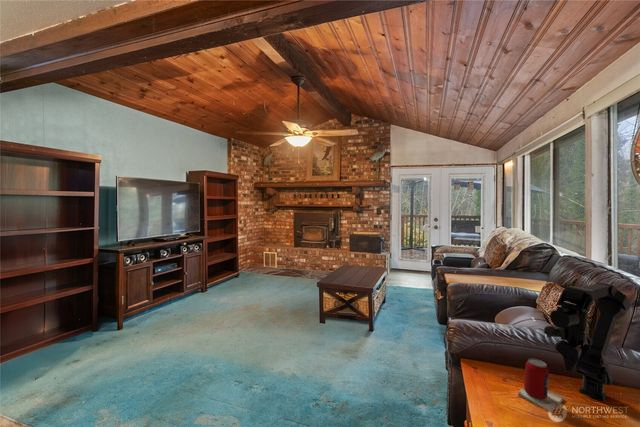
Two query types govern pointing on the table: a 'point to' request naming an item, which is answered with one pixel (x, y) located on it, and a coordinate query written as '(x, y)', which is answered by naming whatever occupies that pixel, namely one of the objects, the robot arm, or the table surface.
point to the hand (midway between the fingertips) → (572, 366)
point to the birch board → (546, 403)
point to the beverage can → (536, 378)
